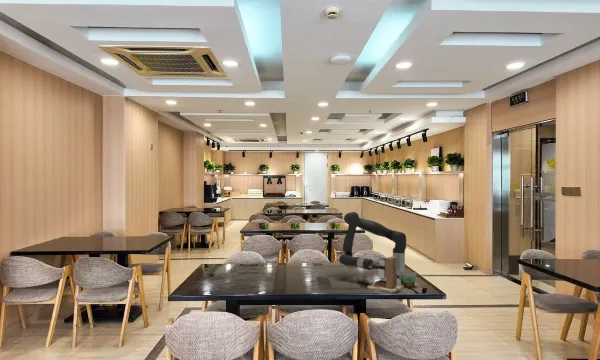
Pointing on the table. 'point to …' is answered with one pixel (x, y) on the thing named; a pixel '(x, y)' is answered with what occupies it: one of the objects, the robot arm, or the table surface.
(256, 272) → the table surface
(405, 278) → the food container
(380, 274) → the grey rectangular block
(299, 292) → the table surface
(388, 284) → the wooden backboard stand
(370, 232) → the robot arm
